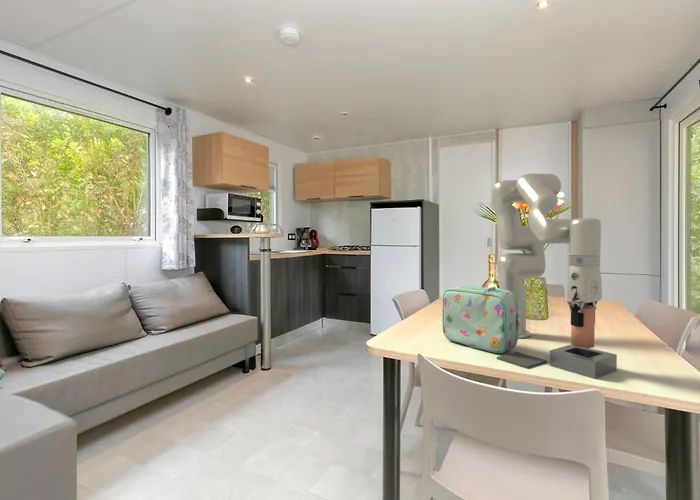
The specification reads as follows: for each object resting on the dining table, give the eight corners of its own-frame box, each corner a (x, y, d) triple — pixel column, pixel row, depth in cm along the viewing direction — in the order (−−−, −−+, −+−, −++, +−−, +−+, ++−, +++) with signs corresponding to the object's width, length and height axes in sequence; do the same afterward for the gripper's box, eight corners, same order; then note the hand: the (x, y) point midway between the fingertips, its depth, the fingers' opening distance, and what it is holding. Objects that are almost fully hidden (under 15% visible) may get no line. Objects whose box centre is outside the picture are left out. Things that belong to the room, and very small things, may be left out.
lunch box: (525, 352, 118) (525, 287, 118) (508, 359, 112) (509, 289, 112) (456, 335, 139) (456, 280, 139) (439, 340, 133) (439, 282, 133)
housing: (549, 365, 106) (550, 350, 106) (572, 358, 112) (572, 344, 112) (594, 378, 95) (595, 361, 95) (616, 370, 102) (616, 354, 102)
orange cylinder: (567, 344, 105) (567, 304, 105) (577, 341, 108) (578, 302, 108) (587, 349, 100) (588, 307, 100) (598, 345, 103) (598, 305, 103)
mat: (496, 358, 112) (496, 357, 112) (516, 353, 117) (516, 351, 117) (527, 368, 103) (527, 366, 103) (547, 362, 108) (547, 360, 108)
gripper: (582, 263, 96) (581, 331, 96) (613, 261, 105) (612, 323, 105) (554, 262, 102) (552, 325, 103) (585, 260, 111) (584, 318, 112)
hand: (582, 324), depth 104 cm, fingers closed on orange cylinder, 5 cm apart
